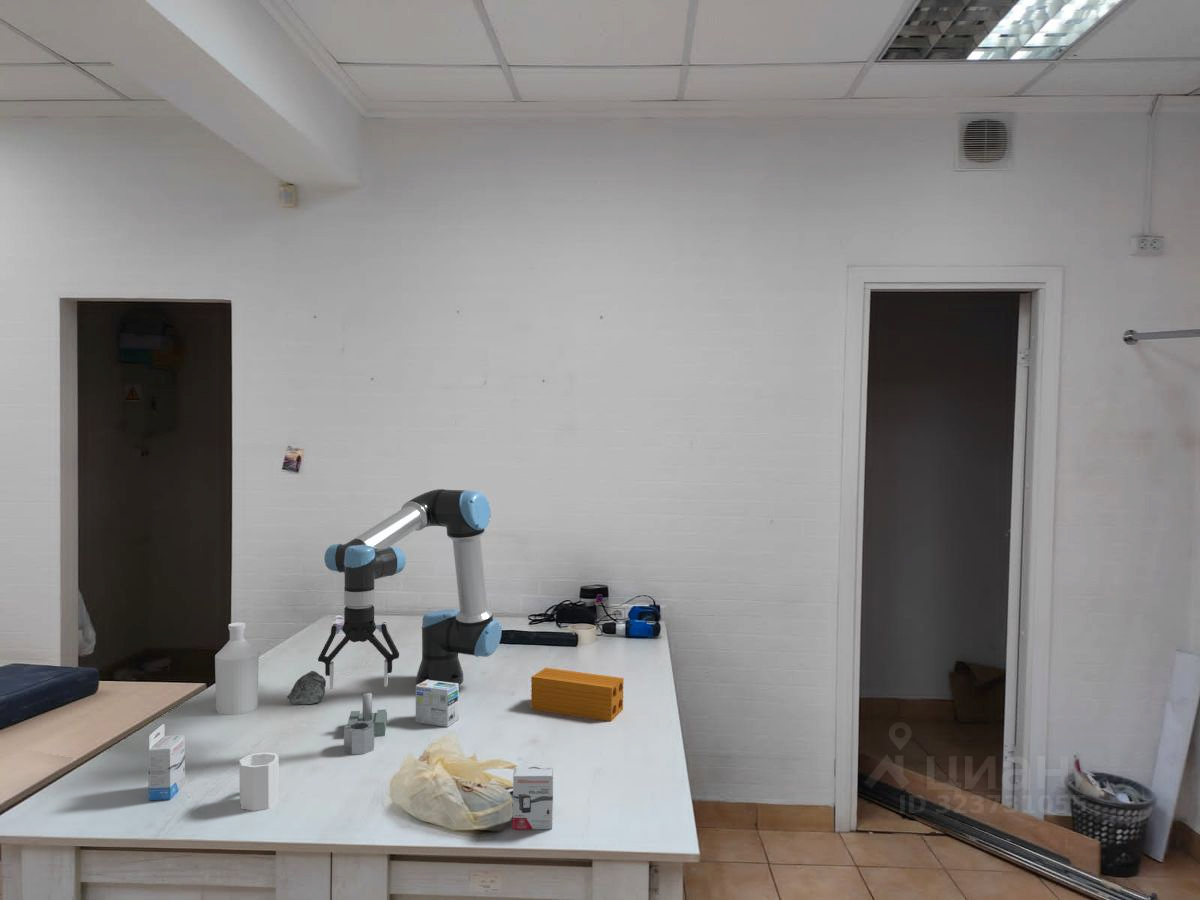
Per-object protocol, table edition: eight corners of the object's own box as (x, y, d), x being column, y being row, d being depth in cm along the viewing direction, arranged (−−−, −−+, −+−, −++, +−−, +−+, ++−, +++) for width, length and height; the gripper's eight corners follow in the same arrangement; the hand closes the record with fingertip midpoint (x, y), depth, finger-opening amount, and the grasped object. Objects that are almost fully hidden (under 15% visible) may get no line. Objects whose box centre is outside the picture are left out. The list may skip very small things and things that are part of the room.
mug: (272, 811, 185) (272, 767, 185) (232, 811, 185) (232, 767, 185) (290, 787, 197) (290, 745, 197) (252, 787, 197) (252, 745, 197)
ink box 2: (511, 830, 178) (512, 775, 178) (513, 819, 183) (513, 765, 183) (552, 829, 179) (553, 774, 178) (552, 818, 184) (553, 765, 183)
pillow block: (386, 722, 239) (387, 687, 239) (384, 735, 229) (384, 699, 229) (350, 724, 237) (350, 689, 237) (346, 738, 227) (346, 701, 227)
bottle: (236, 699, 257) (235, 618, 256) (267, 704, 253) (267, 621, 252) (206, 712, 246) (205, 627, 245) (238, 717, 242) (238, 631, 241)
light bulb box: (459, 719, 242) (459, 682, 242) (447, 727, 236) (448, 689, 235) (426, 715, 246) (427, 678, 245) (414, 722, 239) (414, 685, 239)
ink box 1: (170, 800, 190) (170, 736, 189) (147, 801, 189) (147, 736, 189) (186, 784, 198) (185, 722, 198) (164, 784, 198) (163, 722, 197)
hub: (375, 742, 225) (375, 720, 224) (373, 753, 217) (373, 730, 217) (346, 744, 223) (346, 721, 223) (343, 755, 216) (343, 732, 216)
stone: (303, 673, 251) (320, 662, 260) (279, 692, 252) (297, 681, 262) (322, 699, 250) (339, 687, 260) (299, 718, 252) (316, 706, 261)
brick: (623, 711, 252) (623, 678, 251) (611, 722, 242) (611, 687, 242) (545, 699, 261) (545, 667, 261) (531, 709, 252) (531, 676, 251)
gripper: (409, 601, 225) (408, 679, 226) (311, 603, 220) (311, 684, 221) (408, 607, 218) (407, 688, 218) (306, 610, 213) (306, 693, 214)
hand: (359, 686), depth 220 cm, fingers open, 13 cm apart
